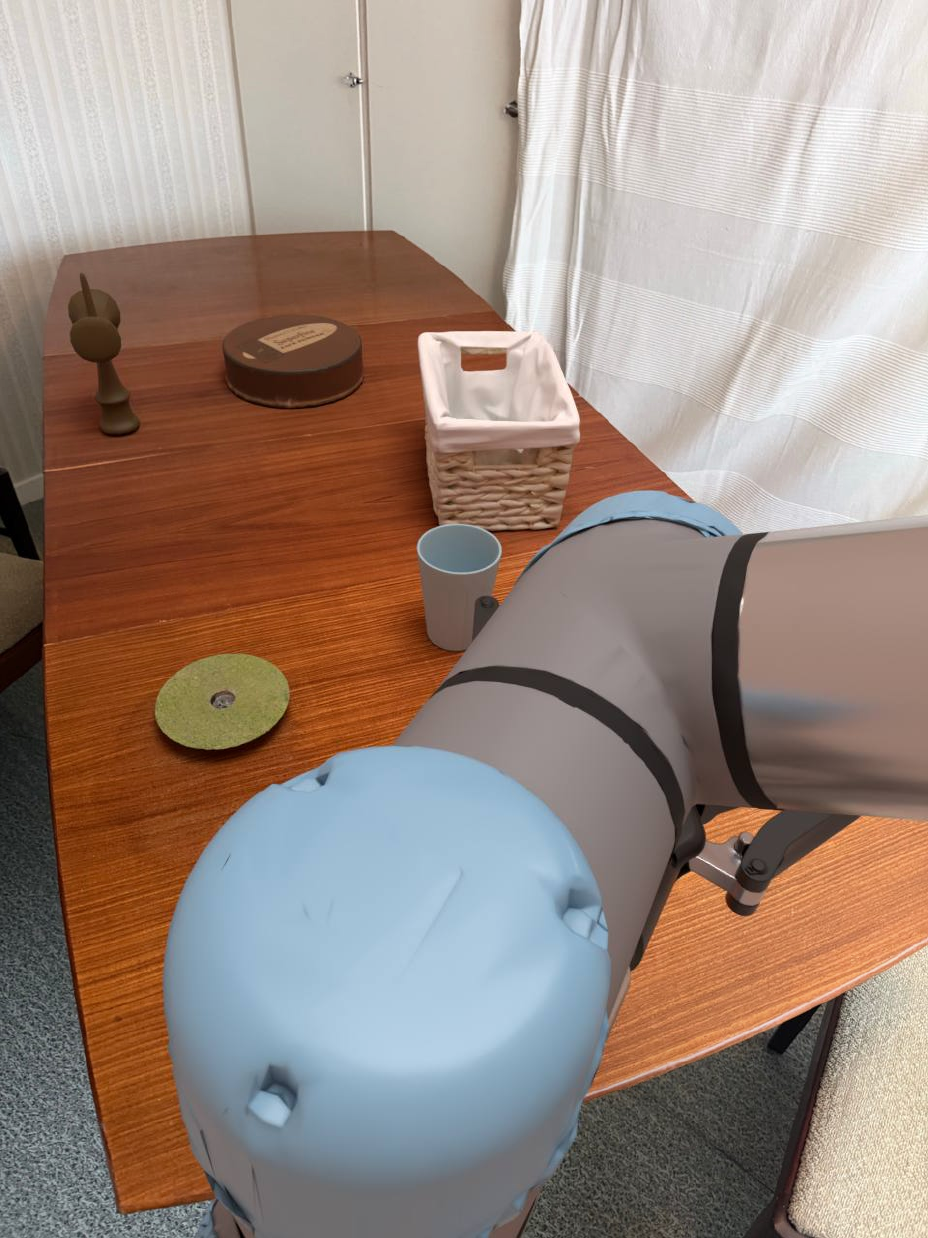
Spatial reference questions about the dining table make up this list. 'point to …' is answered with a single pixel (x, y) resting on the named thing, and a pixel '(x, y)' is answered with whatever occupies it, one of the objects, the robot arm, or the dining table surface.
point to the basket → (497, 430)
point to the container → (293, 360)
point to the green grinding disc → (222, 701)
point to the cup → (455, 580)
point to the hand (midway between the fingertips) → (713, 601)
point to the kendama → (102, 354)
